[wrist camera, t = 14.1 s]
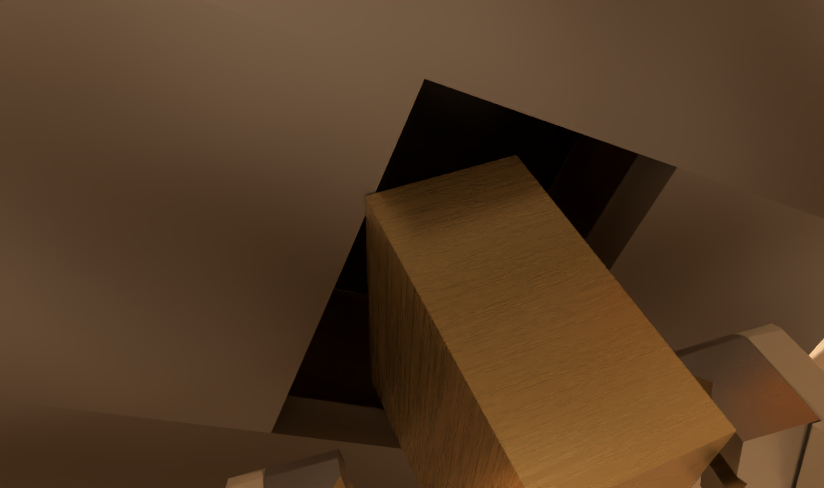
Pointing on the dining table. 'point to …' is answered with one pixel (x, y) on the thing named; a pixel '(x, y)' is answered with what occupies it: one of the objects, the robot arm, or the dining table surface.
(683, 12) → the collection bin
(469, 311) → the upright wooden block
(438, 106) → the dining table surface
